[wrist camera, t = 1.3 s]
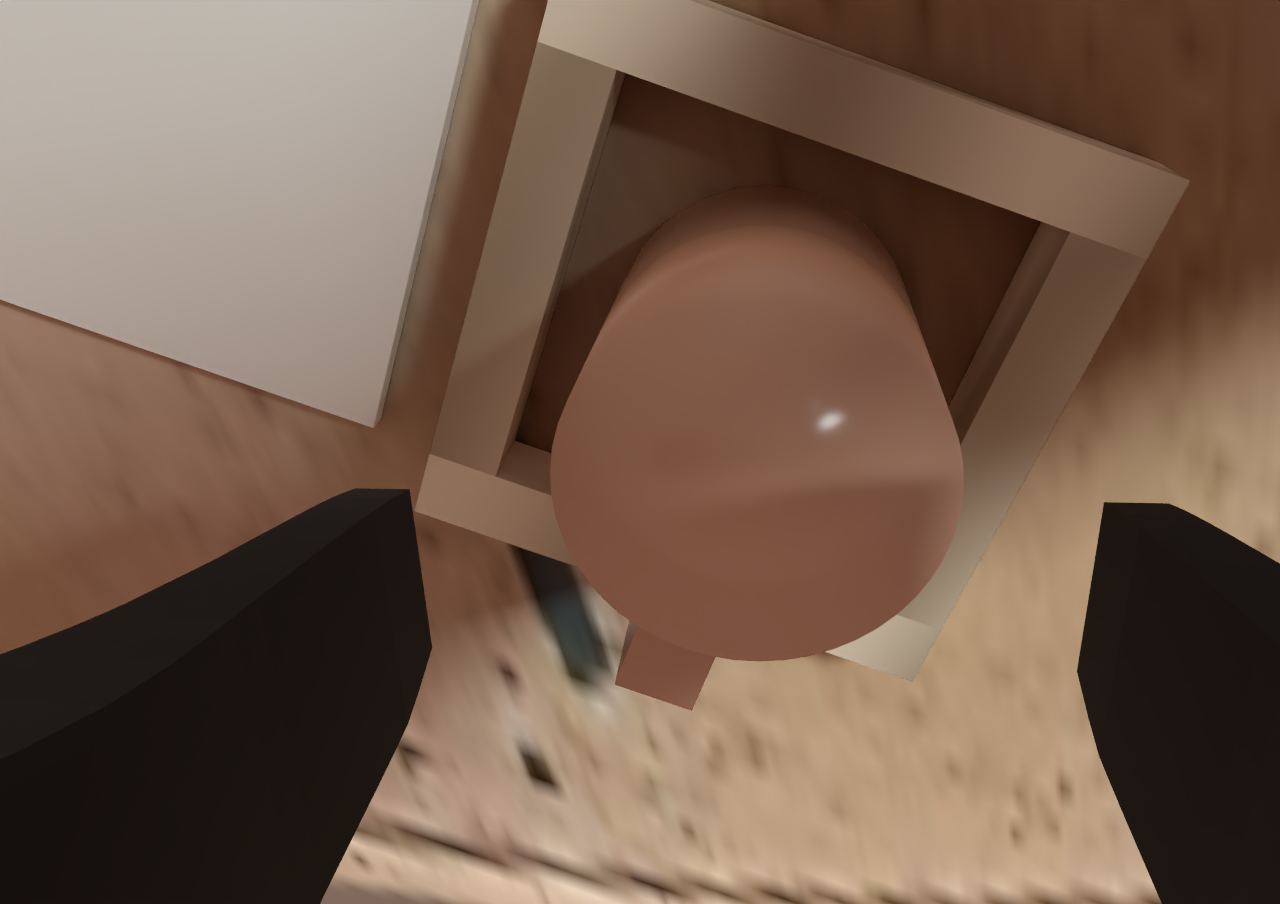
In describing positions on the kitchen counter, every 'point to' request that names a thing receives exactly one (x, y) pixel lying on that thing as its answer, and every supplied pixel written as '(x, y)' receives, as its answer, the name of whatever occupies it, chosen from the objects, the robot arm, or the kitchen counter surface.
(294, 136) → the tile
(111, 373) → the kitchen counter surface
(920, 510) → the jug
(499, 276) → the empty picture frame
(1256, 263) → the kitchen counter surface
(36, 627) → the kitchen counter surface
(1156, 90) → the kitchen counter surface
